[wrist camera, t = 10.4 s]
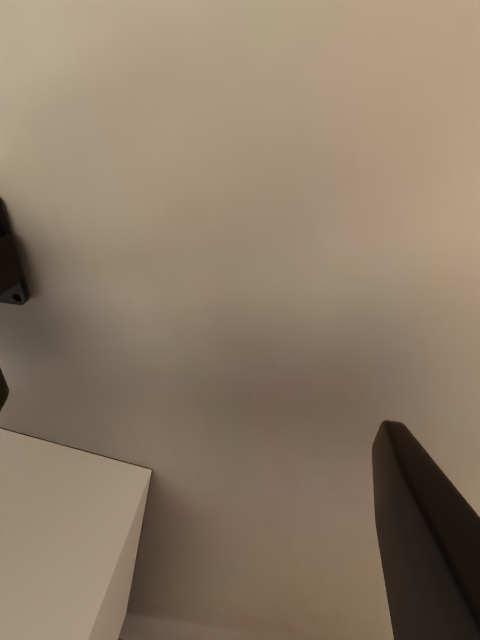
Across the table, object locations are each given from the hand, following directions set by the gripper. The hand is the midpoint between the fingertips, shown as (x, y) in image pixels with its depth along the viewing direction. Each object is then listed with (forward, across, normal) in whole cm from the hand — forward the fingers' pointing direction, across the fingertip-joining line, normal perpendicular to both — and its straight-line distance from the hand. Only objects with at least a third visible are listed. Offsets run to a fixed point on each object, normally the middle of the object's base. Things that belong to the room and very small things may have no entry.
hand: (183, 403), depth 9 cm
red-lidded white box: (+12, +20, +37) cm, 44 cm away
